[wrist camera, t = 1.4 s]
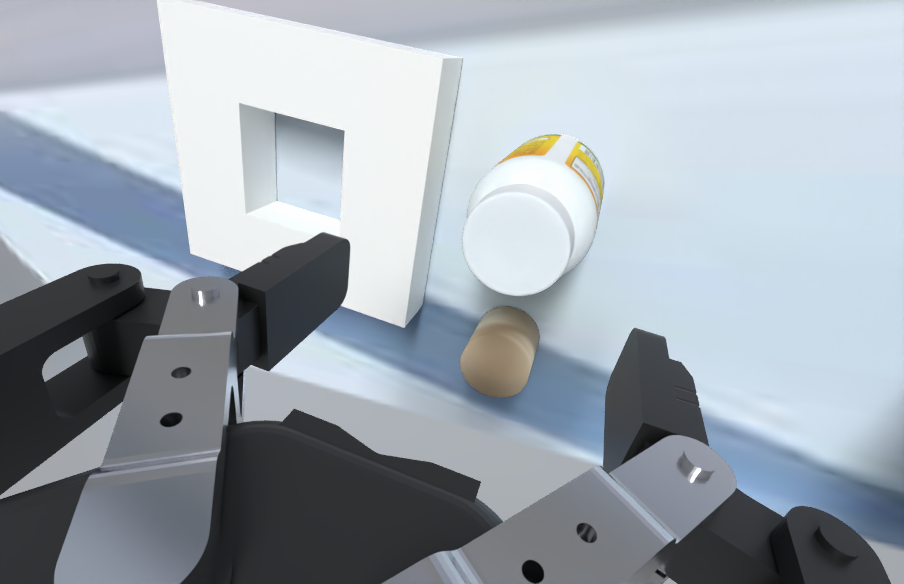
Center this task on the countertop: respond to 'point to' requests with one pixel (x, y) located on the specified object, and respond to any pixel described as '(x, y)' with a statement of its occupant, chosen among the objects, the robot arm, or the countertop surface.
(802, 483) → the countertop surface
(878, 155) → the countertop surface
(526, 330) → the short birch peg
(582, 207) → the supplement bottle
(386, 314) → the collar block
